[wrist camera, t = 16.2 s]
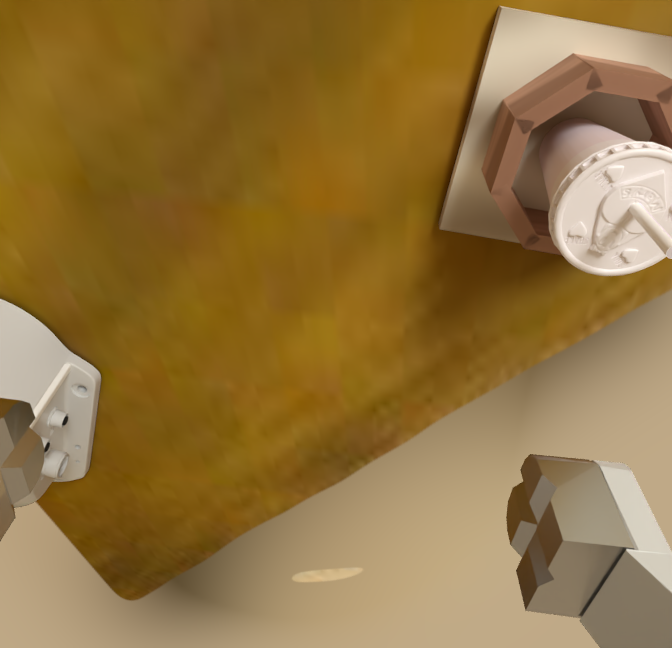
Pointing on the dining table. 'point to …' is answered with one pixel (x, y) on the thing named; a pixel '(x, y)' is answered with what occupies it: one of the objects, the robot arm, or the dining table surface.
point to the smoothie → (607, 198)
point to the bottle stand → (549, 115)
